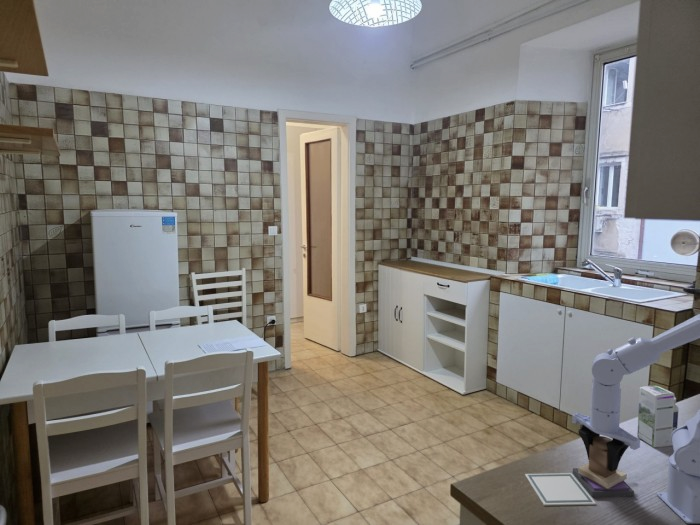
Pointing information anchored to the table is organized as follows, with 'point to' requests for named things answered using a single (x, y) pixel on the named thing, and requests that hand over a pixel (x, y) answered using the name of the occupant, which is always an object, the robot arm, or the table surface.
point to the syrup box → (655, 416)
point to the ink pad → (599, 491)
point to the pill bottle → (675, 416)
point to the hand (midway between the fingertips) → (602, 464)
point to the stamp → (601, 465)
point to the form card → (559, 489)
